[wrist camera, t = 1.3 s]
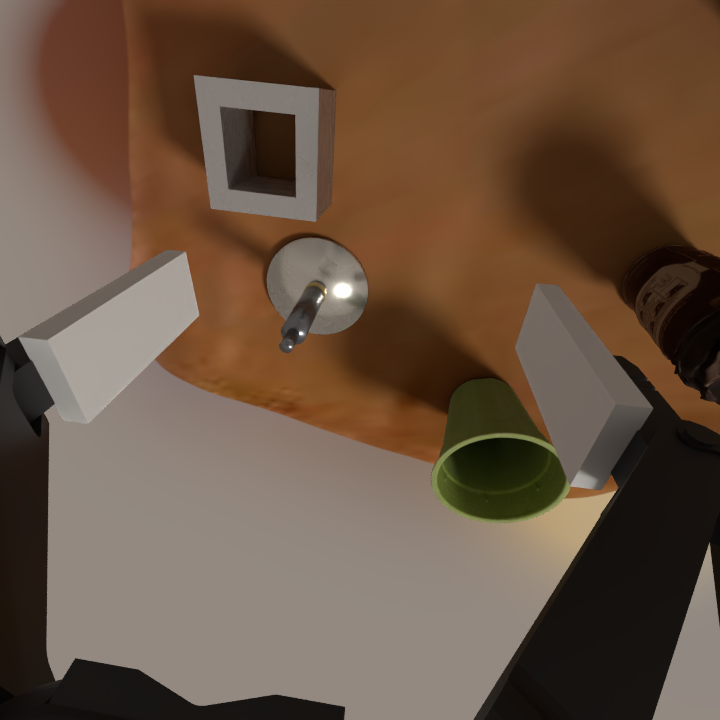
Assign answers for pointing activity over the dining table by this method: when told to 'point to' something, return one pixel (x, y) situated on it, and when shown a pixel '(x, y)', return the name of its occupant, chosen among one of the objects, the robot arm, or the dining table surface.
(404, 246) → the dining table surface
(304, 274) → the post
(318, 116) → the collar
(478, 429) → the plant pot
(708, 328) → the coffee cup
